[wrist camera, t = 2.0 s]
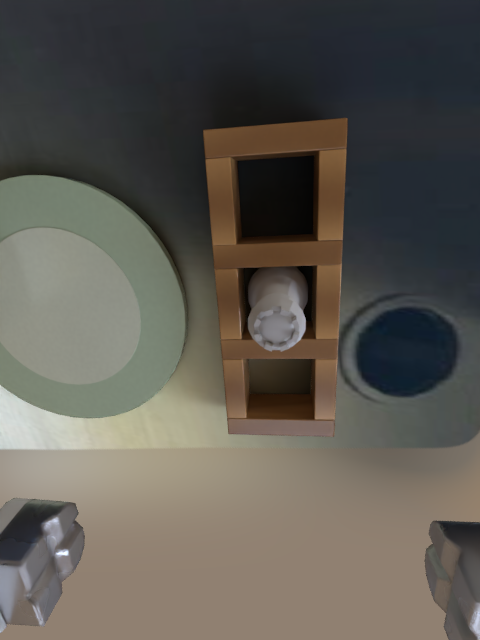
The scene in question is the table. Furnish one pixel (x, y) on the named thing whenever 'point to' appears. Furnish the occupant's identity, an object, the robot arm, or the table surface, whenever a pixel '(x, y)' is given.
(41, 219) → the plate
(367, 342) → the table surface
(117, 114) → the table surface
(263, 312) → the rook chess piece
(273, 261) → the rack
